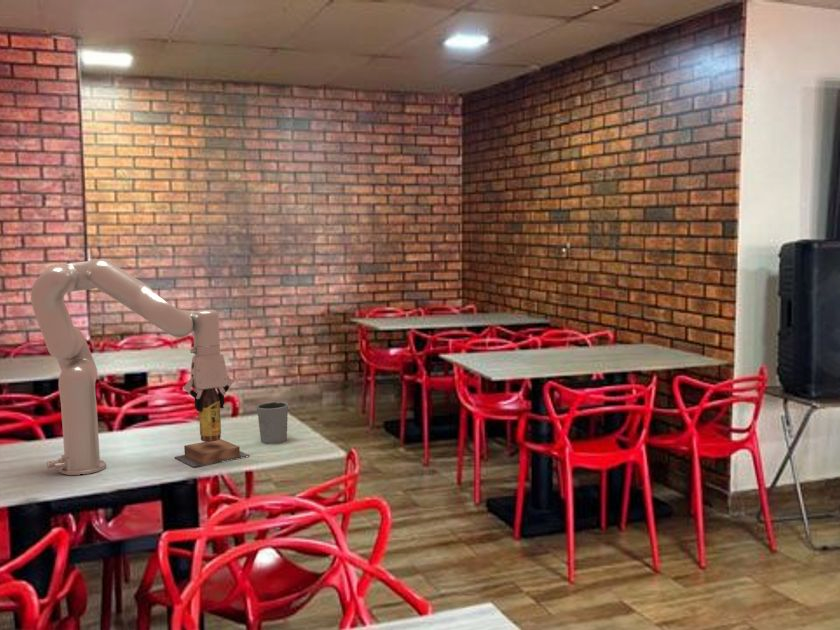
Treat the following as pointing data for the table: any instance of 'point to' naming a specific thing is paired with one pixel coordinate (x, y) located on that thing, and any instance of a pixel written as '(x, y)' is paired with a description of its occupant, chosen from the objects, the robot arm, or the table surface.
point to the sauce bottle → (210, 416)
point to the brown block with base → (210, 453)
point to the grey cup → (273, 422)
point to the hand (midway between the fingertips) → (209, 408)
